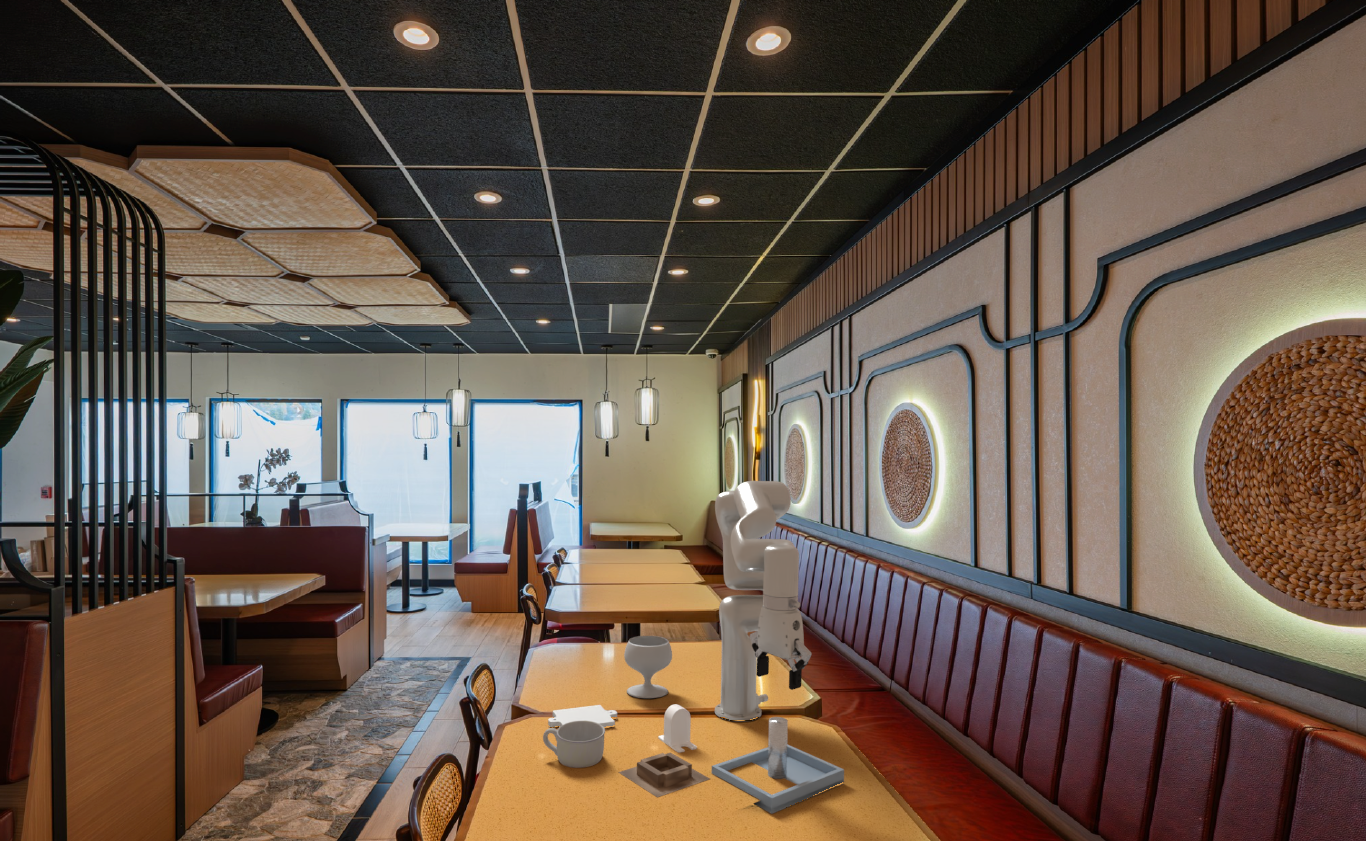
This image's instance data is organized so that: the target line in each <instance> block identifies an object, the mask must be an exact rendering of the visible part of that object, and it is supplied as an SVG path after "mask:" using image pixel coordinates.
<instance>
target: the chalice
mask: <svg viewBox="0 0 1366 841" xmlns="http://www.w3.org/2000/svg"><path fill="white" fill-rule="evenodd" d="M624 649H625V650H624V654H623V656H624V661H625V663H626V665H627V666H628V667H630V668H631V669H632V670H634V671H637V672H638V673H639V674H641V676H643V680H644V682H643V684H636V685H632V686H630V687H628V688H627V689H626V694H628V695H629V696H632V697H633V698H637V699H638V698H639V699H655V698H656V699H657V698H661V697H664V696H666V695H667V694H668V693H669V690H668V688H666V687H665V686H662V685H659V684H652V677H653V676H655V674H656V673H658V672H660V671H662V670H664V669H666V668H667V667H668V666H669V665H670V664H671V662H672V659H673V650H672V646H671V644H670V641H669V640H668V639H667V638H665V637H663V636H658V635H638V636H633V637H631V638H629V640H628V642H627V643H626V645H625V648H624Z"/></svg>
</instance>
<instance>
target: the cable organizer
mask: <svg viewBox="0 0 1366 841" xmlns="http://www.w3.org/2000/svg"><path fill="white" fill-rule="evenodd" d="M691 717H692V716H691V714H690V711H689V710H687V708H684V707H683V706H682V705H680V704H677V703H676V704H671V705H670V706H668V708H667V709H666V710H665V712H664V715H663V734H662V735H658V737H657V739H658V740H659V741H661V742H663V744H665V745H667V746H668V747H670V748H671V749H672V750H674V752H676V753H679V754H681V753H685V752H686V751H685V749H684V748H683V747H687V748H688V749H689V750H692V751H693V750H697V749H698V746H697V745H696V744H694V743H693V742H691V726H692V725H691V719H692V718H691Z"/></svg>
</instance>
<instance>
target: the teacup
mask: <svg viewBox="0 0 1366 841" xmlns="http://www.w3.org/2000/svg"><path fill="white" fill-rule="evenodd" d="M549 734H551V735H552V734H553V736H554V737H555V738H554V739H555V741H556V745H554V744H553V743H552V742H551V741H550V740H549V737H548V735H549ZM605 734H606V729H605V728H604V727H603V726H602V725H600V724H599V723H596V722H592V721H573V722H569V723H566V724H564V725H562V726H561V727H559V728H557V729H556V728H550V727H548V728H547V729H546V730H544V732H543V735H542V740H543V743H544V745H545V747H547V748H548V749H550V750H551V751H552V752H554V754H555V756H556V757H557V760H558V761H559V763H560V764H561V765H563V766H565V767H568V768H573V769H574V768H575V769H577V768H579V769H580V768H581V769H583V768H588V767H591V766H595V765H597V764H598V763H599V762H601V760H602V759H603V755H604V750H605Z"/></svg>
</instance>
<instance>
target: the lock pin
mask: <svg viewBox="0 0 1366 841" xmlns="http://www.w3.org/2000/svg"><path fill="white" fill-rule="evenodd" d="M788 725H789V724H788V719H787V718H785V717H782V716H781V717H780V716H772V717H770V718H768V770H767V775H768V777H769V778H771V779H775V780H783V779H785V780H787V744H788Z"/></svg>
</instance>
